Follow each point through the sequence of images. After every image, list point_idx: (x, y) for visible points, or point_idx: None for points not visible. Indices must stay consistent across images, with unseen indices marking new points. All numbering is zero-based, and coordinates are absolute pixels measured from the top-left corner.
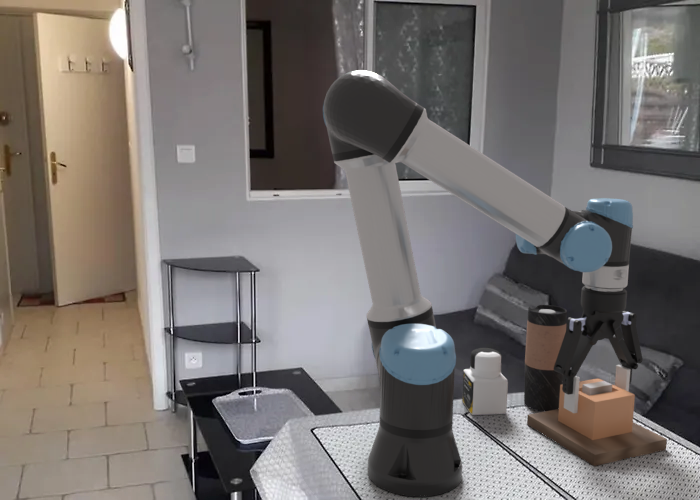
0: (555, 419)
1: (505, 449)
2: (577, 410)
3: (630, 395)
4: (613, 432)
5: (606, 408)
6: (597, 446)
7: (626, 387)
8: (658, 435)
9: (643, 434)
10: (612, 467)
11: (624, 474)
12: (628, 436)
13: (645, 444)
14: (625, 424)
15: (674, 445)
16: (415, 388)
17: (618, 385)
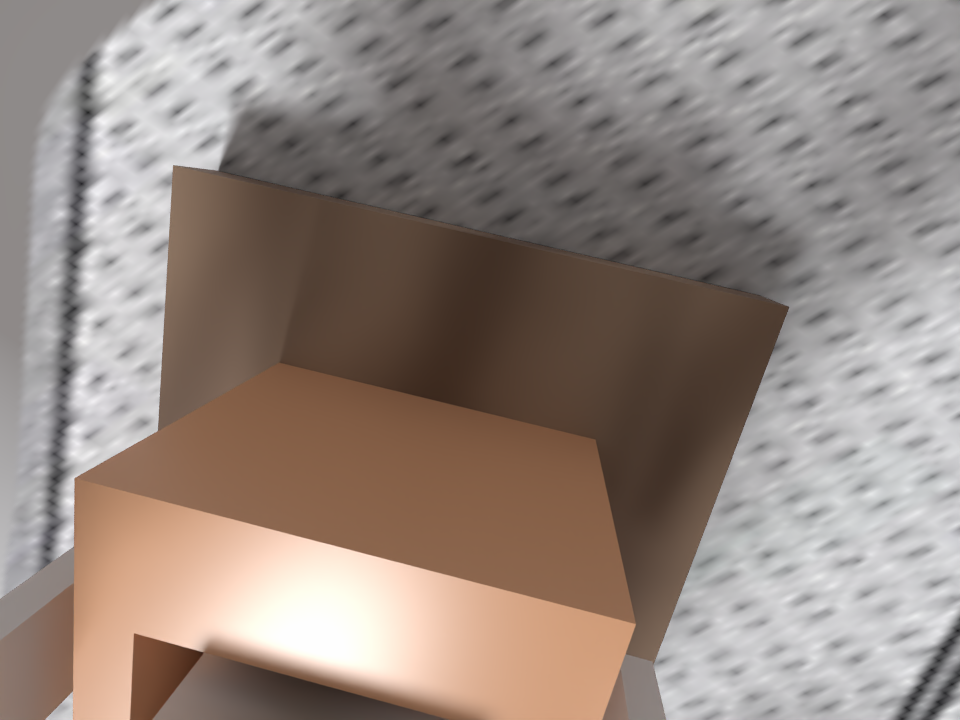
0: None
1: (948, 690)
2: (622, 667)
3: (137, 493)
4: (424, 406)
5: (477, 523)
6: (654, 370)
7: (11, 622)
8: (176, 231)
9: (247, 298)
10: (684, 223)
11: (714, 122)
12: (355, 337)
13: (356, 207)
14: (311, 396)
15: (124, 177)
16: None
17: (32, 693)
